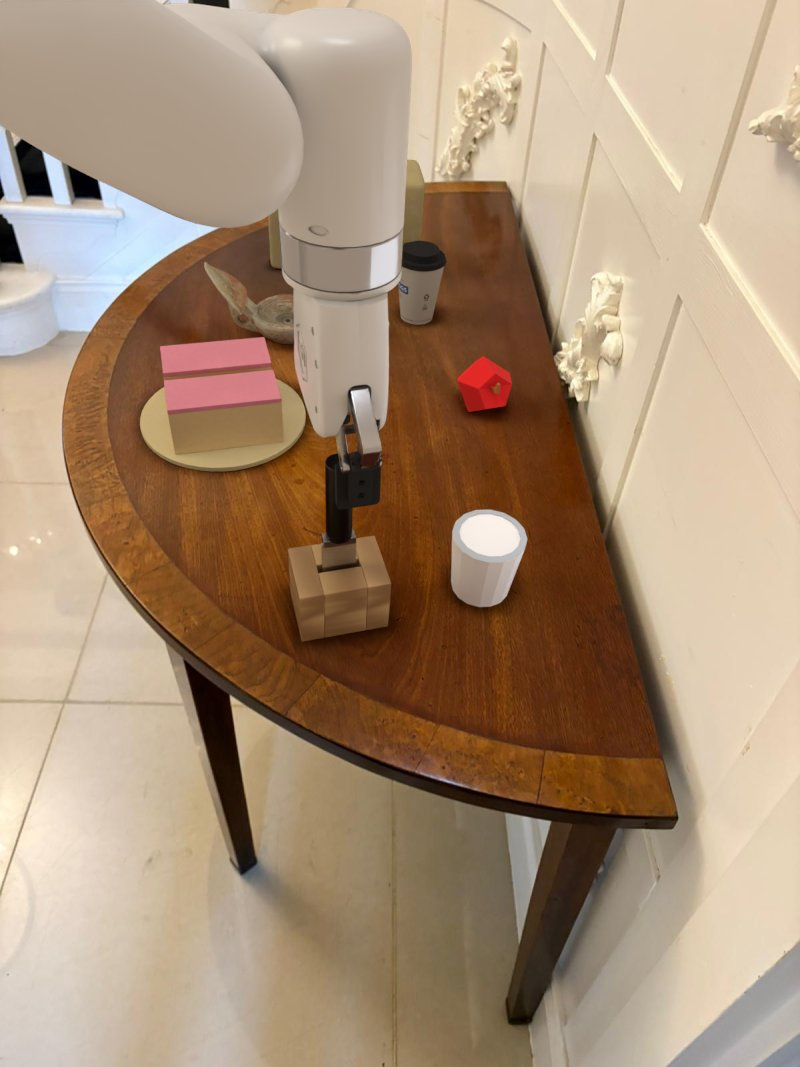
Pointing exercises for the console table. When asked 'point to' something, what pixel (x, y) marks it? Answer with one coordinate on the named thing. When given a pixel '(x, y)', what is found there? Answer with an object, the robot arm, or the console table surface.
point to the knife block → (339, 592)
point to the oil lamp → (256, 308)
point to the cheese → (411, 213)
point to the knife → (336, 527)
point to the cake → (221, 407)
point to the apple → (484, 385)
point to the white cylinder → (485, 556)
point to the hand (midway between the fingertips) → (343, 462)
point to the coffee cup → (420, 281)
